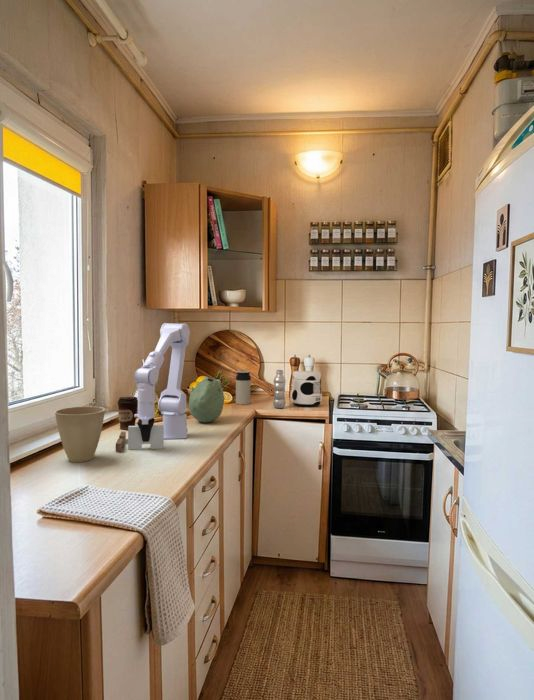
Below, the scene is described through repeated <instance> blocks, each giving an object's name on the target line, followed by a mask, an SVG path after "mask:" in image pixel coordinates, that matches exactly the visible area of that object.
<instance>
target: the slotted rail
mask: <svg viewBox="0 0 534 700" xmlns="http://www.w3.org/2000/svg"><path fill="white" fill-rule="evenodd" d="M126 438H127V431H125V430H124V431H120V434H119V435H118V439H117V441H116V443H115V453H116V452H119V453H122V449H123V448H122V447H124V444H125V442H126V441H127V439H126Z"/></svg>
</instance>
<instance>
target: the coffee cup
mask: <svg viewBox="0 0 534 700" xmlns="http://www.w3.org/2000/svg"><path fill="white" fill-rule="evenodd" d="M117 406H118V421H119V429H121V430H128V426H136V420H138V417H134V415H135V414H138V396H120V397H119V399H118V400H117Z"/></svg>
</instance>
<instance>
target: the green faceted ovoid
mask: <svg viewBox="0 0 534 700" xmlns="http://www.w3.org/2000/svg"><path fill="white" fill-rule="evenodd" d="M221 383H222V382H221V380H220V379H216V378H212V377H208V376H203V379H201V381H199V382H198V383H196V386H192V387H191V391H190V394H189V397H188V398H189V399H188V405H187V406H188V410H189V412H190V414H191V416H192V418H194V419H195V420H196V421H198V422H200V423H204V424H205V423H206V424H207V423H213V422H214V421H215V420H216V419H218V418H219V417H220V416H221V415H222V414H223V413H222V412H223V409H224V408H223V407H224V404H225V395H224V394H225V393H224V389H223V386H222V384H221Z"/></svg>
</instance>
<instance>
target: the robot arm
mask: <svg viewBox="0 0 534 700" xmlns="http://www.w3.org/2000/svg"><path fill="white" fill-rule="evenodd" d="M190 335H191V329H190V327H189V325H188V324H187V323H167V322H164V323H162V325H161V327H160V329H159V336H160V337H159V340H158V341H157V344H156V346H155V349H154V351H151V352H149V354H148V356H147V358H146V359H145V361H144V362H143V365H142V366H141V367H138V368H137V369H136V371H135V372H134V377H133V378H134V382H135V386H136V389H137V400H138V408H137V409H138V413H137V414H135V415H134V417H137V420H138V421H137V426H139V428H140V431H141V436H142V441H143V442H149V439H150V433H151V429H152V426H153V425H154V424H155V417H156V414H155V413H156V412H155V411H156V410H155V409H156V407H155V400H156V399H155V394H156V393H155V391H156V384H157V382H159V381H158V380H159V374H160V369H161V367H162V366H163V362H164V361H165V356H164V355H165V354H166V352H167V350H168V349H169V347H171V355H170V357H171V358H170V363H169V371H168V379H167V386H166V388H165V389H164V390H162V391H161V392H160V397H159V398H158V399H159V400H158V402H157V408H158V411H159V412H160V414H161V415H162V425H164V440H170V439H171V440H172V439H173V440H174V439H187V438H188V435H187V434H188V433H189V431H188V418H187V417H188V416H187V415H188V414H187V413H185V412H186V411H187V410H186V409H187V406H188V404H187V394H186V393H185V392H184V391H183V390H182V389H181V387H182V378H183V372H184V364H185V355H186V350H187V349H186V347H188V346H189V344H190V343H189V342H190Z"/></svg>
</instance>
